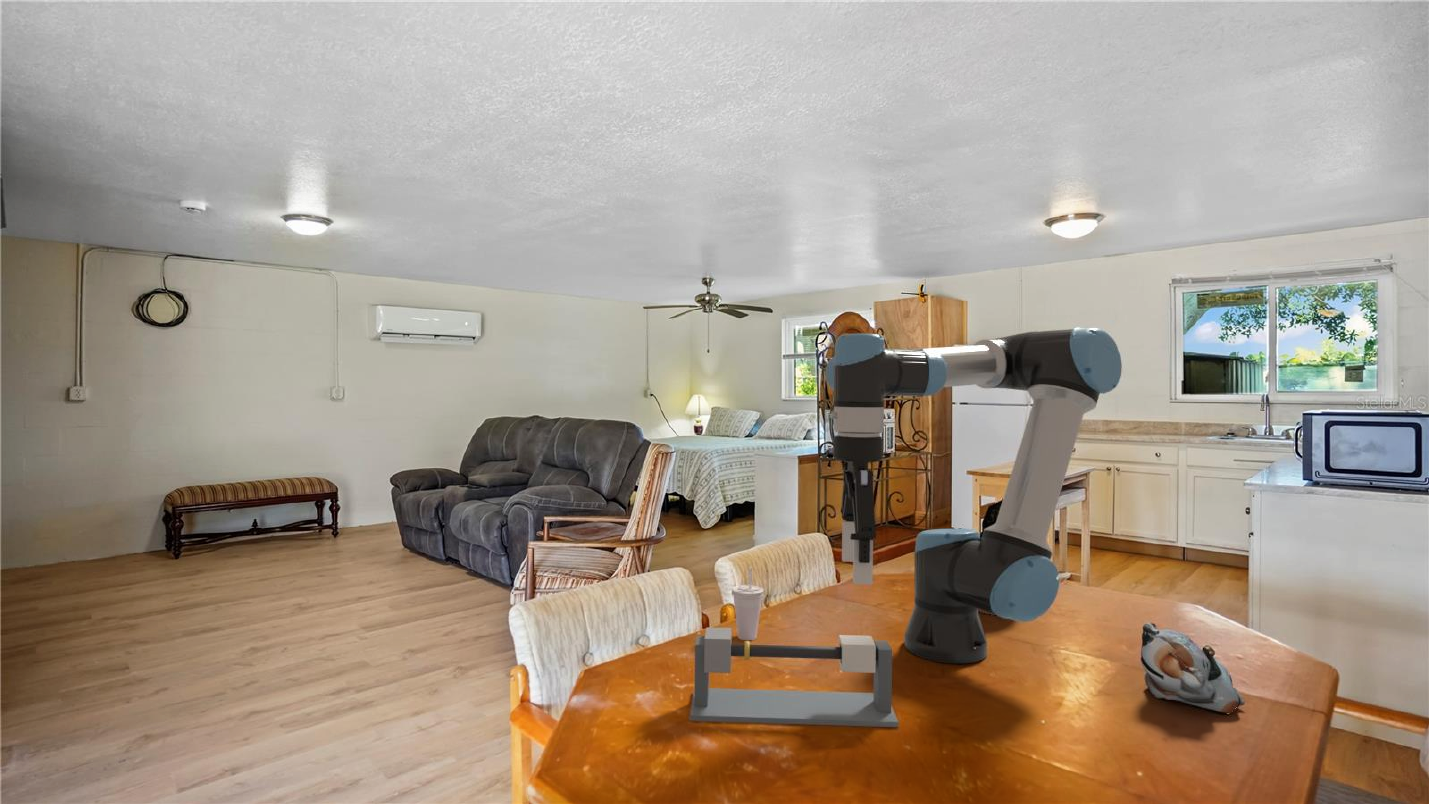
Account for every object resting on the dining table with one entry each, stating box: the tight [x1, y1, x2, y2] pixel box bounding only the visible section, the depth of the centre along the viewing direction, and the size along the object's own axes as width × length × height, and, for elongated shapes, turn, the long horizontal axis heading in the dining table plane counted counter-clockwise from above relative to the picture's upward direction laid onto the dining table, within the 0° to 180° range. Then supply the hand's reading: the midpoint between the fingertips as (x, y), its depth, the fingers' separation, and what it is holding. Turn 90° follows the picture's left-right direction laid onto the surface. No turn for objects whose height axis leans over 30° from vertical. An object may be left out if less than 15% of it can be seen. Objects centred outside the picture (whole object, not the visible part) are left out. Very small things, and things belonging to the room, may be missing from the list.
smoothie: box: [731, 566, 764, 641], centre depth 146 cm, size 6×6×14 cm
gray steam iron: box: [1140, 622, 1246, 714], centre depth 118 cm, size 15×12×14 cm
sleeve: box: [838, 634, 876, 674], centre depth 113 cm, size 5×4×4 cm
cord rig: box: [689, 626, 900, 728], centre depth 113 cm, size 31×10×12 cm, turn 87°
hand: (856, 572), depth 113 cm, fingers open, 13 cm apart
